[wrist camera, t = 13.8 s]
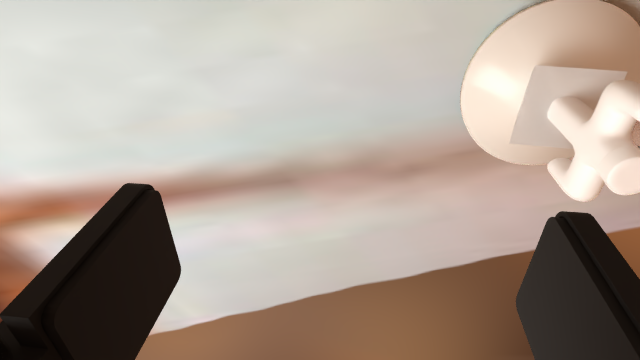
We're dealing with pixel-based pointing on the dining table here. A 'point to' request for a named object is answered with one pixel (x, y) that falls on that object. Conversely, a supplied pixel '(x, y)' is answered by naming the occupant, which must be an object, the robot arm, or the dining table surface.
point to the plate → (546, 50)
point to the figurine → (583, 128)
